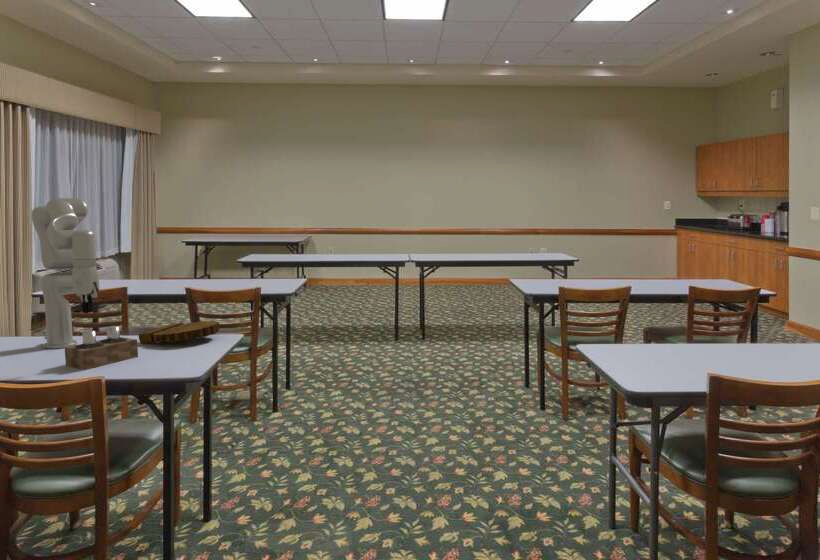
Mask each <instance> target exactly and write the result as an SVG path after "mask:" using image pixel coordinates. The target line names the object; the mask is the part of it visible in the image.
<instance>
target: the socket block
mask: <svg viewBox="0 0 820 560" xmlns="http://www.w3.org/2000/svg"><path fill="white" fill-rule="evenodd" d="M138 348H139V347H138V339H137V338H136V339H135V338H128V337H124V336H123V337H122V336H120V340H117V341H107V338H105V339H104V338H103V339H100V340H99V339H98V340H96V345H93V346H89V347H86V346H83V343H81V344H76V345H74V346H70V347H65V348H64V357H65V367H71V368H74V369H75V368H76V369H81V370H85V371H87V370H90V369H96V368H100V367H103V366H107V365H111V364H114V363H118V362H123V361H127V360H130V359H135V358H138V357H139V351H138ZM134 357H135V358H134Z"/></svg>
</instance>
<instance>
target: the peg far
mask: <svg viewBox="0 0 820 560" xmlns="http://www.w3.org/2000/svg"><path fill="white" fill-rule="evenodd" d="M120 335H121V333H120V326H118V325H111V326H107V327H106V337H107V338H106V339H107V341H117V340H120V337H121V336H120Z"/></svg>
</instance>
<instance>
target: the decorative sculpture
mask: <svg viewBox="0 0 820 560" xmlns="http://www.w3.org/2000/svg"><path fill="white" fill-rule="evenodd" d="M219 331H220V322H219V321H217V320H216V321H213V320H212V321H210V320H207V321H206V320H205V321H196V322H189V323H188V322H187V323H184V322H175V323H174V322H173V323H169V324H166V325H163V326H159V327H157V328H154V329H151V330H147V331H145V332H144V331H143V332H141V333H139V334H138V339H139V340H138V341H139V343H140V344H142V343H146V344H156V343H158V344H166V343H170V342H177V343H179V342H183V341H189V340H194V339H201V338H204V337H208V336H211V335H214V334H217V333H219ZM146 344H145V345H146Z"/></svg>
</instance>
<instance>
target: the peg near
mask: <svg viewBox="0 0 820 560" xmlns="http://www.w3.org/2000/svg"><path fill="white" fill-rule="evenodd" d="M96 334H97V332H96V330H83V331H82V344H83V346H86V347H89V346H93V345H96V341H97V335H96Z"/></svg>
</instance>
